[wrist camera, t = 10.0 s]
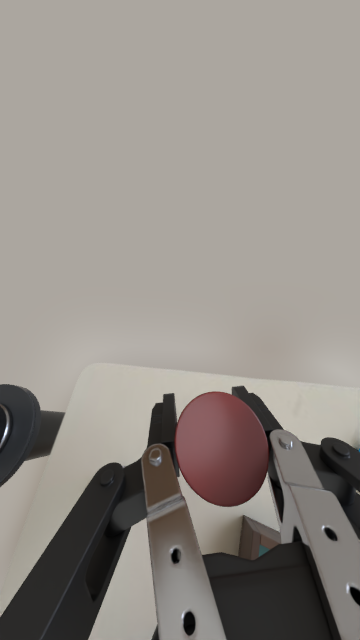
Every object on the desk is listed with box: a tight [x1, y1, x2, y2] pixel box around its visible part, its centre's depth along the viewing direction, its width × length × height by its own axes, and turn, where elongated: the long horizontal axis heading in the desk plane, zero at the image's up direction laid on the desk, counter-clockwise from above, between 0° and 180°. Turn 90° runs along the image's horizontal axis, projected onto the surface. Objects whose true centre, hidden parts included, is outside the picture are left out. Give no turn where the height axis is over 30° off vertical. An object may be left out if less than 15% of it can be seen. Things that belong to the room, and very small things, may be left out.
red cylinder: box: [175, 392, 269, 507], centre depth 11 cm, size 4×4×8 cm
